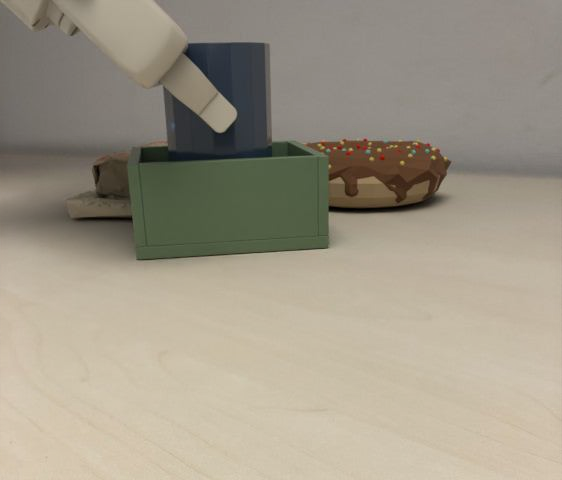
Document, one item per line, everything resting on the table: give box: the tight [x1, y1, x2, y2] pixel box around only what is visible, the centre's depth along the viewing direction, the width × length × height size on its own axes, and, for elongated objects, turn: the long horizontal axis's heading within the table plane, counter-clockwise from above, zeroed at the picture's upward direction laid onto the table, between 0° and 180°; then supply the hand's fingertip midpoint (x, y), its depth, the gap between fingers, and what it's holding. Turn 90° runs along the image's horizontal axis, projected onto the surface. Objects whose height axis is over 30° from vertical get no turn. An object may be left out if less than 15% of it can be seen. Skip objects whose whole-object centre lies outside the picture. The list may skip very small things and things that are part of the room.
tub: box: [127, 140, 330, 260], centre depth 49 cm, size 12×11×6 cm
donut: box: [302, 137, 452, 209], centre depth 61 cm, size 14×14×5 cm
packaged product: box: [65, 141, 168, 219], centre depth 63 cm, size 18×5×10 cm
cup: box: [162, 41, 273, 162], centre depth 47 cm, size 7×7×10 cm
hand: (227, 120), depth 47 cm, fingers closed on cup, 7 cm apart
